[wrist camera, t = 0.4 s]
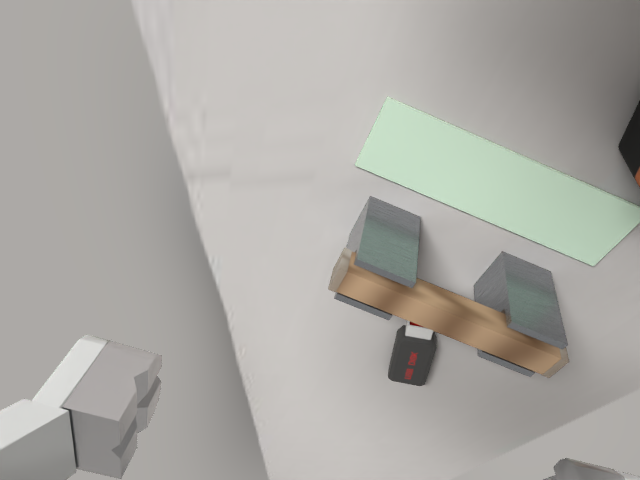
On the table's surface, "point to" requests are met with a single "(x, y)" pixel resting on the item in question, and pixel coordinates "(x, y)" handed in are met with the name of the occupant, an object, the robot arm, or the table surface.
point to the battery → (632, 145)
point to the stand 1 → (384, 247)
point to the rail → (446, 315)
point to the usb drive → (412, 354)
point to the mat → (495, 183)
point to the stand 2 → (521, 303)
